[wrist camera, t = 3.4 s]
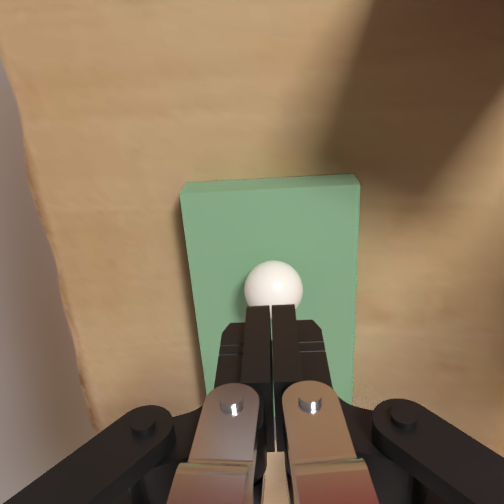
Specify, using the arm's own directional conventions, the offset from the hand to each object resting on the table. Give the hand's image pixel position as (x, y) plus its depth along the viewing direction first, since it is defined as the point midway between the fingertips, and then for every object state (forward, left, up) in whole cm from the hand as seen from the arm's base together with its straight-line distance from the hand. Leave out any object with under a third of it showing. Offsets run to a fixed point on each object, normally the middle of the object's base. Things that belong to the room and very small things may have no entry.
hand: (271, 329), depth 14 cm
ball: (+7, 0, -15) cm, 17 cm away
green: (+11, 0, -20) cm, 23 cm away
